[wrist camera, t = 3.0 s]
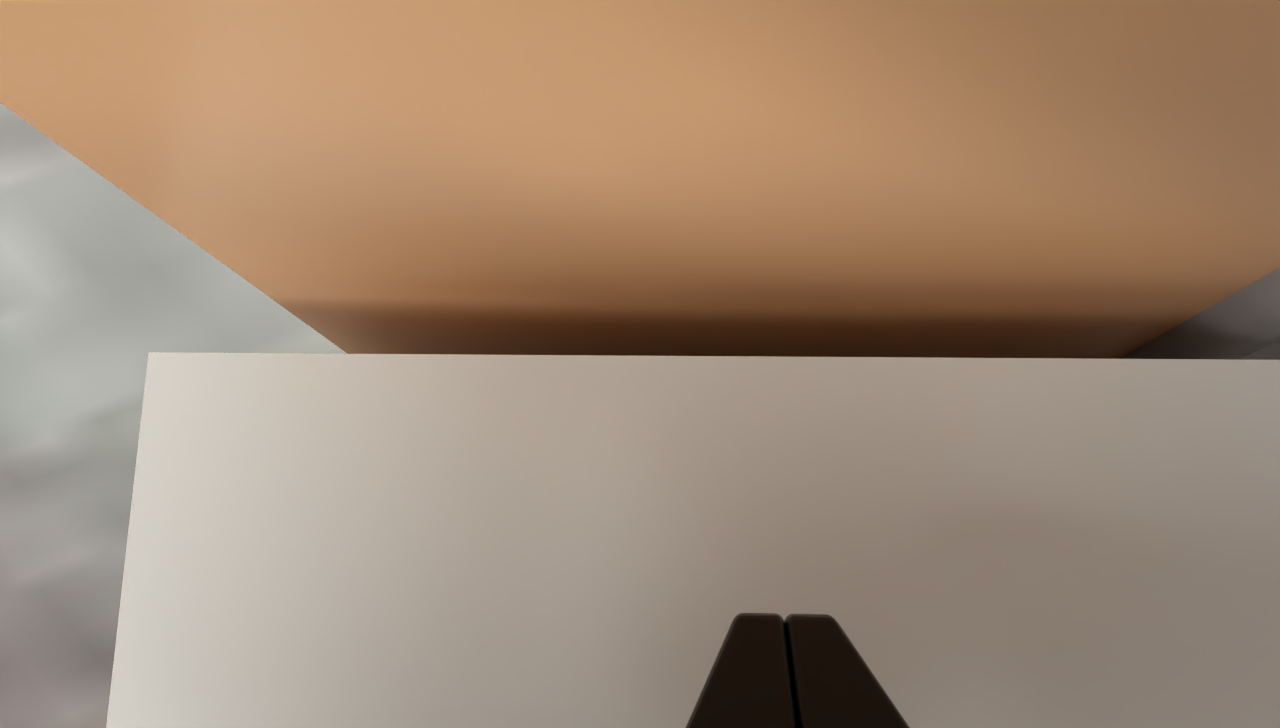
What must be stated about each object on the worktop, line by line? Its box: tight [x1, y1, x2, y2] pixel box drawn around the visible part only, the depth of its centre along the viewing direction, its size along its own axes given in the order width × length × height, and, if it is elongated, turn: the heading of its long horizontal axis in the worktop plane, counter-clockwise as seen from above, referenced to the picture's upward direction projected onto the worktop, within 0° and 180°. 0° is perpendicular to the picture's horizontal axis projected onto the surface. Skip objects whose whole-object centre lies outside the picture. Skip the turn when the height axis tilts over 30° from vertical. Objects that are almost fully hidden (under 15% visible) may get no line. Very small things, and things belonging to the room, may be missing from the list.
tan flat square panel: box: [0, 0, 1280, 360], centre depth 13 cm, size 2×12×12 cm, turn 89°
